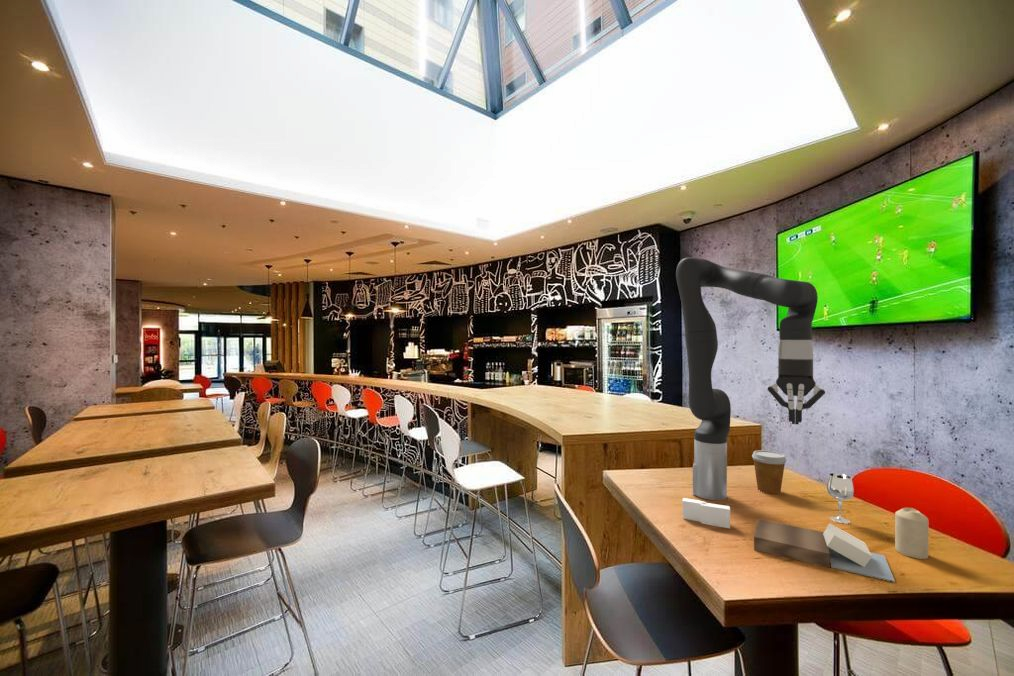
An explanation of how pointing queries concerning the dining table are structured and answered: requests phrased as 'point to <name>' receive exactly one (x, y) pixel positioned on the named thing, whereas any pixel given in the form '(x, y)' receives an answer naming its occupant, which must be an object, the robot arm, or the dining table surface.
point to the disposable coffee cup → (769, 470)
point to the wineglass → (840, 492)
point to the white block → (847, 545)
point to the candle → (912, 533)
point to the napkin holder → (706, 512)
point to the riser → (791, 542)
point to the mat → (873, 568)
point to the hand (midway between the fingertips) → (795, 423)
